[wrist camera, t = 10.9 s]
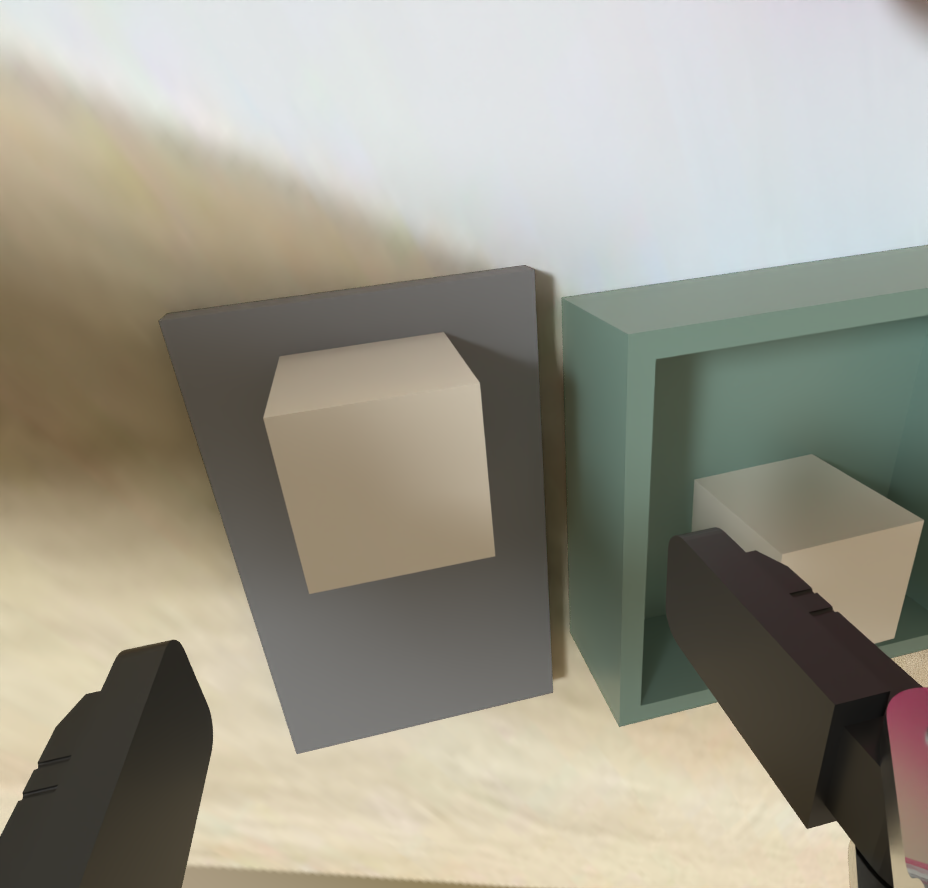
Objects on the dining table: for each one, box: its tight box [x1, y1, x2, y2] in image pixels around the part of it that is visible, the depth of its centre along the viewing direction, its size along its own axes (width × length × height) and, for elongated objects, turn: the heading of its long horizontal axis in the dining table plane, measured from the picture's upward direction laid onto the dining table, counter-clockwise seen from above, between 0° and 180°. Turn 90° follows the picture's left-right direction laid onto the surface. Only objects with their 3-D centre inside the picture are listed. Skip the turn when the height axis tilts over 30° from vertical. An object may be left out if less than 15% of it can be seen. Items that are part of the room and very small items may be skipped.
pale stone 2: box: [692, 454, 924, 644], centre depth 22 cm, size 5×5×5 cm
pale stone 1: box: [263, 332, 495, 594], centre depth 17 cm, size 5×5×5 cm
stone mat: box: [159, 265, 553, 754], centre depth 22 cm, size 11×18×1 cm, turn 6°
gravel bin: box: [562, 245, 928, 727], centre depth 22 cm, size 15×15×5 cm
